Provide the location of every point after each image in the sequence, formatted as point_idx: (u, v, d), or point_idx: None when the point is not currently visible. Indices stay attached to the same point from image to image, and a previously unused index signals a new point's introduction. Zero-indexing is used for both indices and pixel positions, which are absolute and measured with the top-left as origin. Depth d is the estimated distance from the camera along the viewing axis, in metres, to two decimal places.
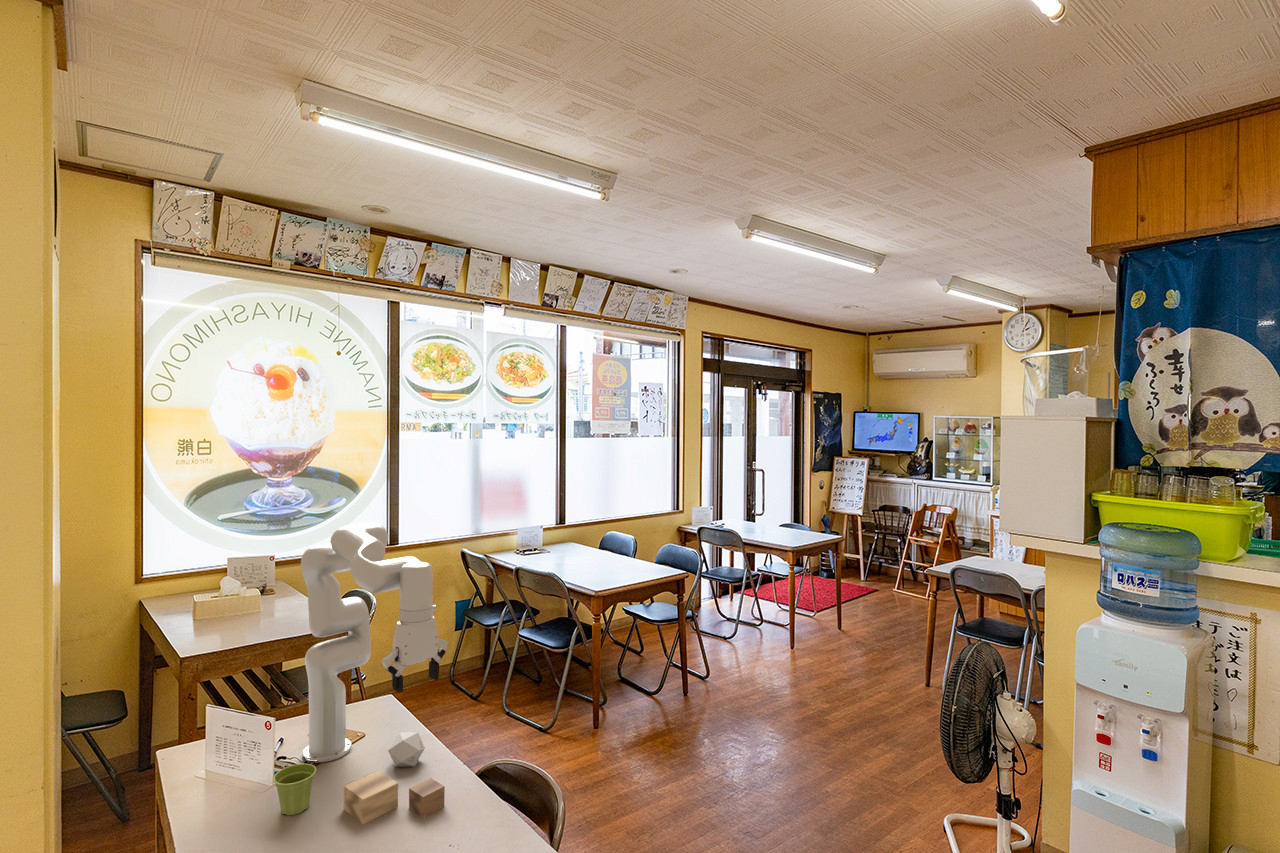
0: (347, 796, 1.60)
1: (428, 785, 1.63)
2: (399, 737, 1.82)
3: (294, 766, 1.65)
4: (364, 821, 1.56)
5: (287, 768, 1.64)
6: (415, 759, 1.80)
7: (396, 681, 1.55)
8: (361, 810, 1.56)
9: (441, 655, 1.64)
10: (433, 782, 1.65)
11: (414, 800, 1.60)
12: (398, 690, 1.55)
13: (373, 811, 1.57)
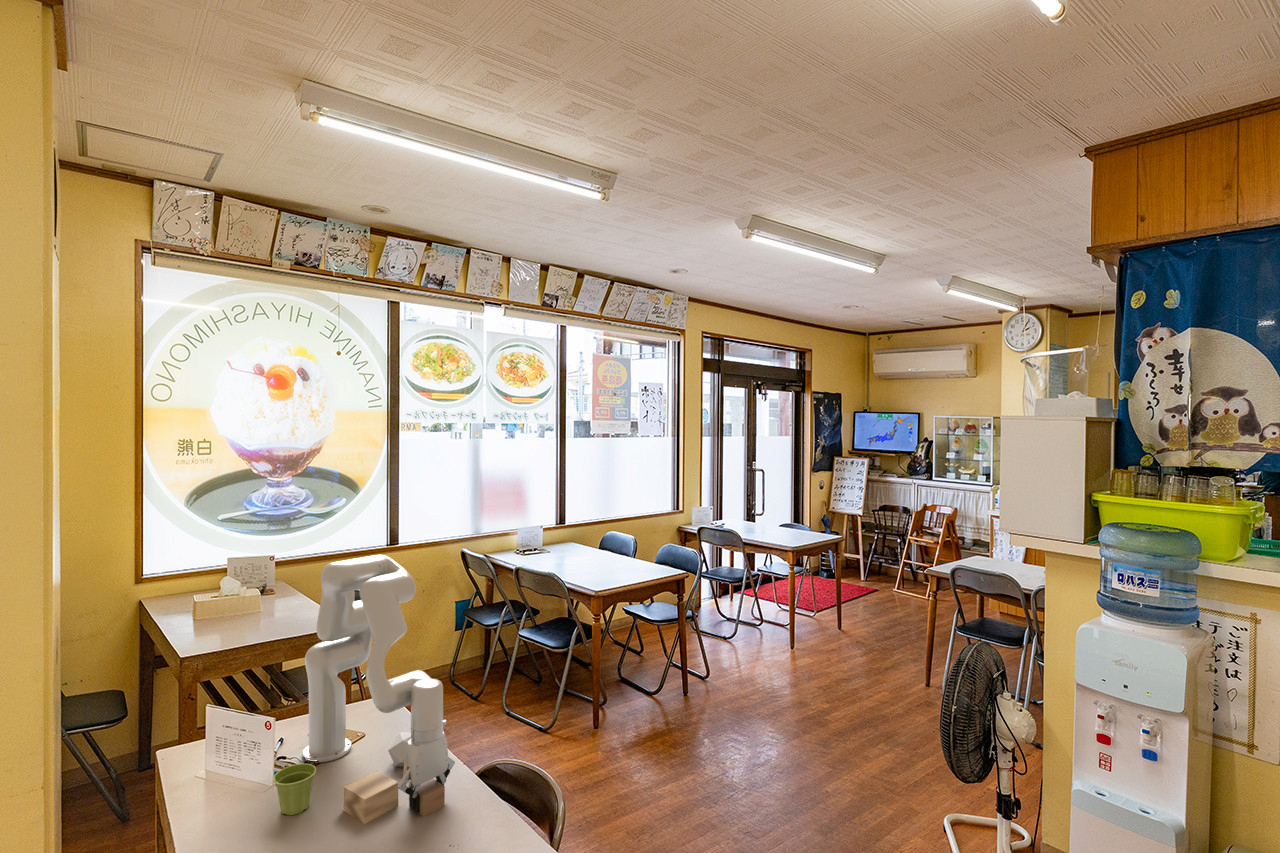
0: (347, 797, 1.60)
1: (428, 785, 1.63)
2: (399, 737, 1.82)
3: (294, 766, 1.65)
4: (366, 821, 1.56)
5: (287, 768, 1.64)
6: None
7: (413, 802, 1.59)
8: (363, 810, 1.56)
9: (446, 775, 1.66)
10: (433, 781, 1.65)
11: None
12: (415, 810, 1.59)
13: (374, 810, 1.58)
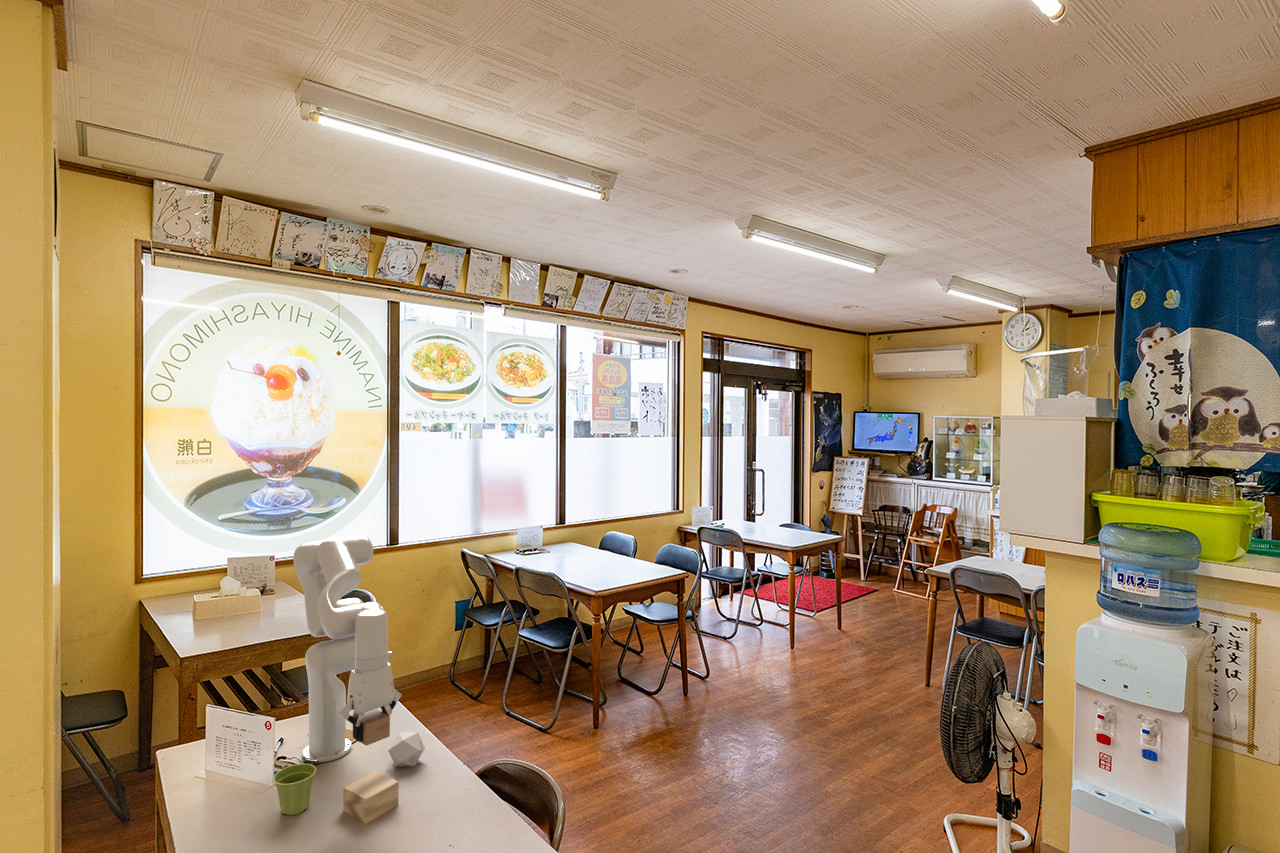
0: (347, 797, 1.60)
1: (373, 715, 1.62)
2: (399, 737, 1.82)
3: (294, 766, 1.65)
4: (367, 821, 1.56)
5: (287, 768, 1.64)
6: (415, 759, 1.80)
7: (356, 731, 1.58)
8: (364, 810, 1.56)
9: (392, 706, 1.65)
10: (379, 713, 1.63)
11: None
12: (358, 739, 1.58)
13: (375, 810, 1.58)
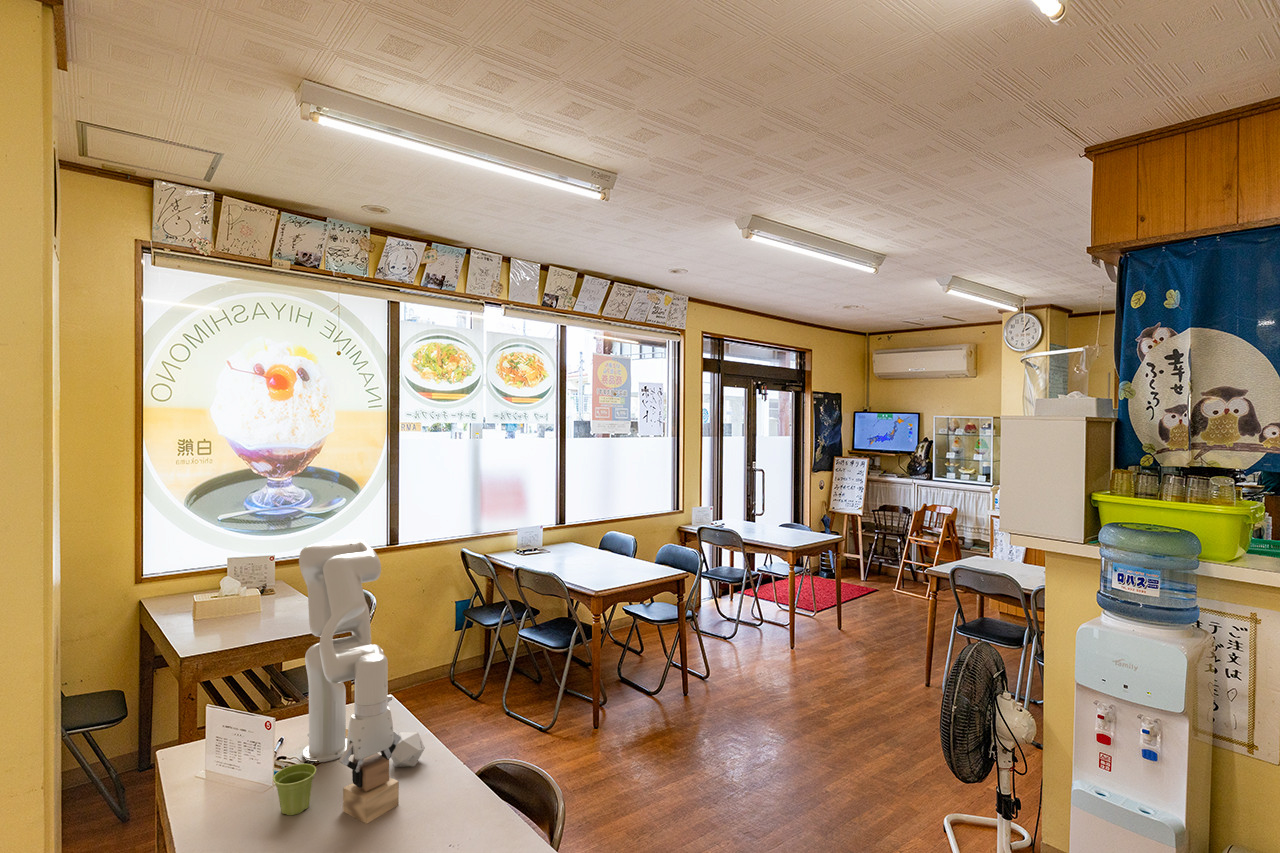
0: (347, 797, 1.59)
1: (373, 760, 1.62)
2: None
3: (294, 766, 1.65)
4: (367, 821, 1.56)
5: (287, 768, 1.64)
6: (415, 759, 1.80)
7: (356, 776, 1.58)
8: (365, 810, 1.56)
9: (391, 750, 1.65)
10: (378, 757, 1.64)
11: None
12: (358, 785, 1.58)
13: (376, 810, 1.58)
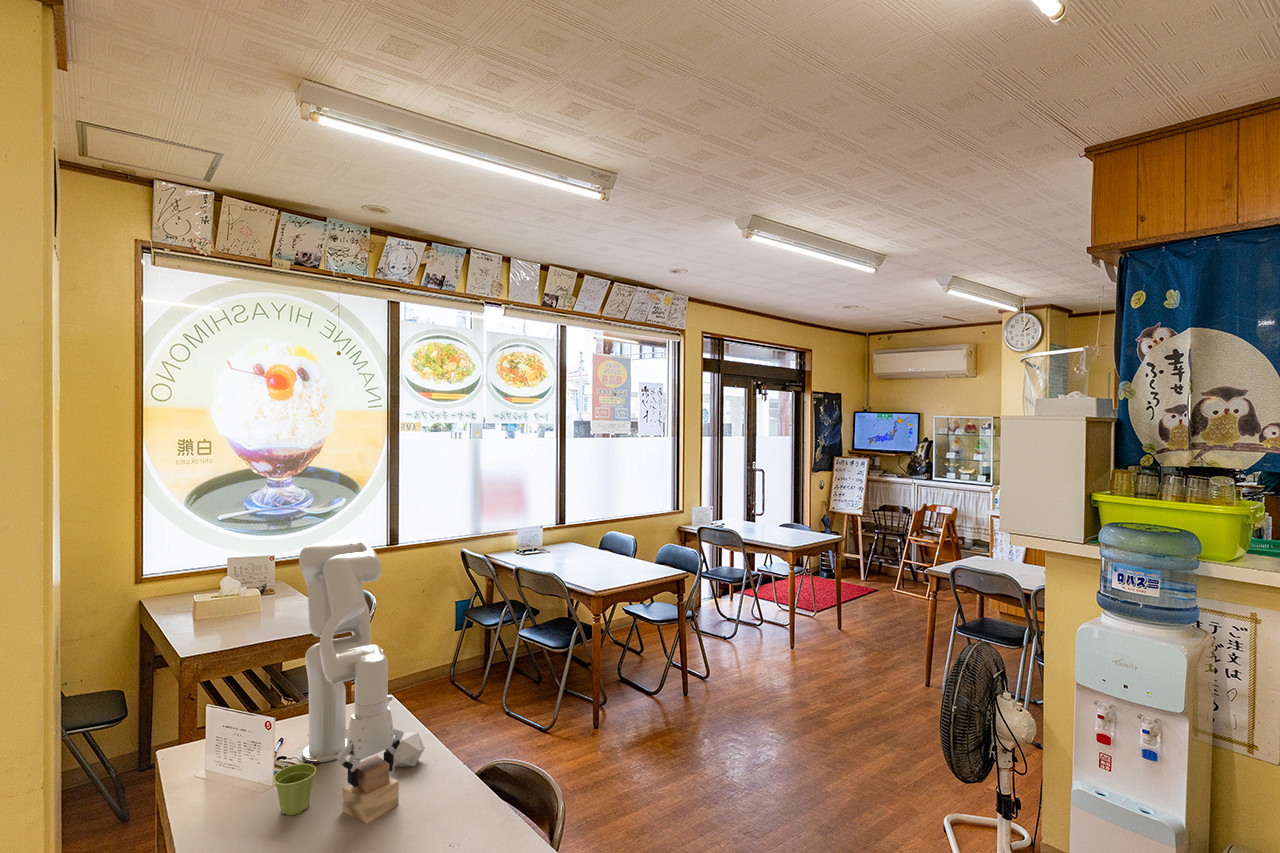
0: (347, 798, 1.59)
1: (373, 762, 1.62)
2: None
3: (294, 766, 1.65)
4: (368, 821, 1.56)
5: (287, 768, 1.64)
6: (415, 759, 1.80)
7: (351, 776, 1.57)
8: (365, 810, 1.56)
9: (396, 746, 1.66)
10: (378, 759, 1.64)
11: (358, 777, 1.60)
12: (353, 784, 1.57)
13: (376, 810, 1.58)
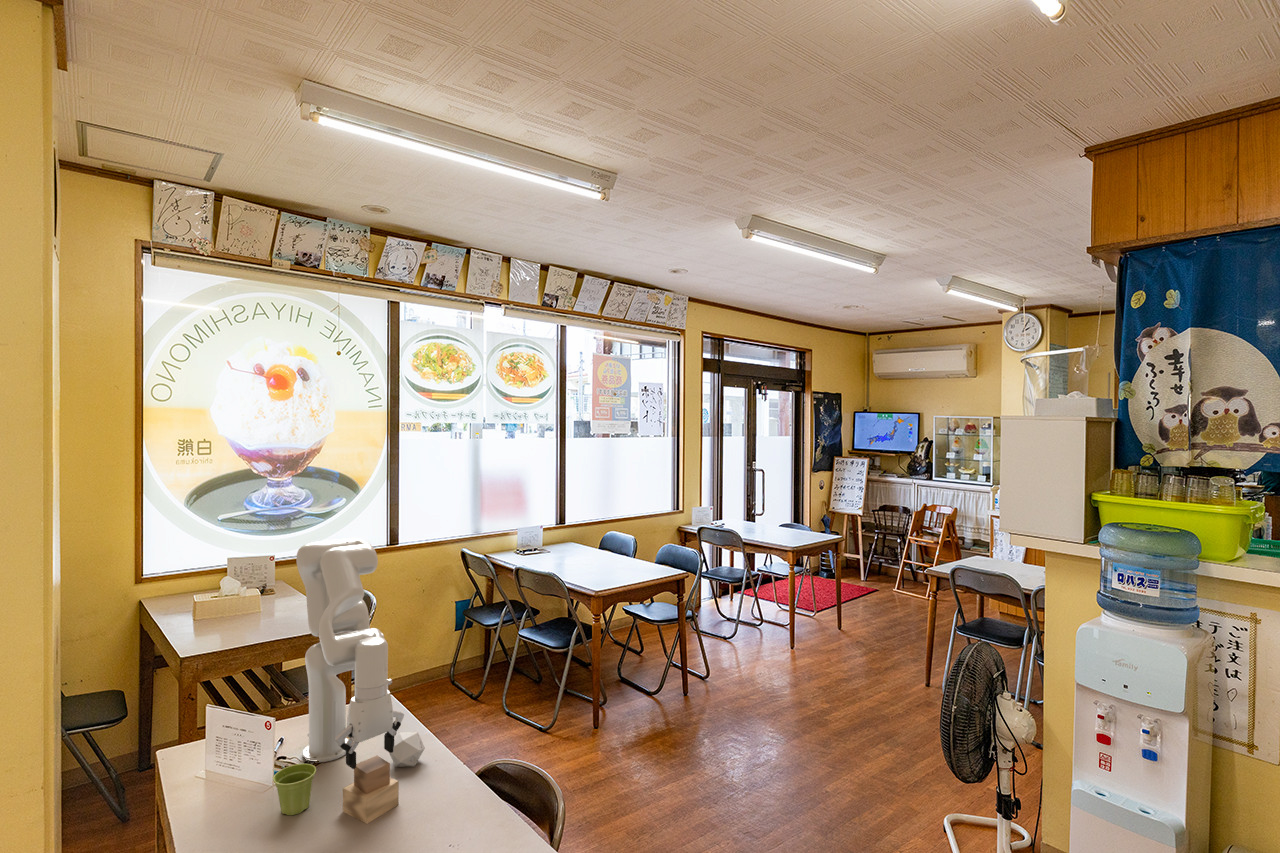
0: (347, 798, 1.59)
1: (373, 762, 1.62)
2: (399, 737, 1.82)
3: (294, 766, 1.65)
4: (368, 821, 1.56)
5: (287, 768, 1.64)
6: (415, 759, 1.80)
7: (349, 758, 1.57)
8: (365, 810, 1.56)
9: (396, 728, 1.66)
10: (379, 759, 1.64)
11: (359, 777, 1.60)
12: (351, 766, 1.58)
13: (376, 810, 1.58)
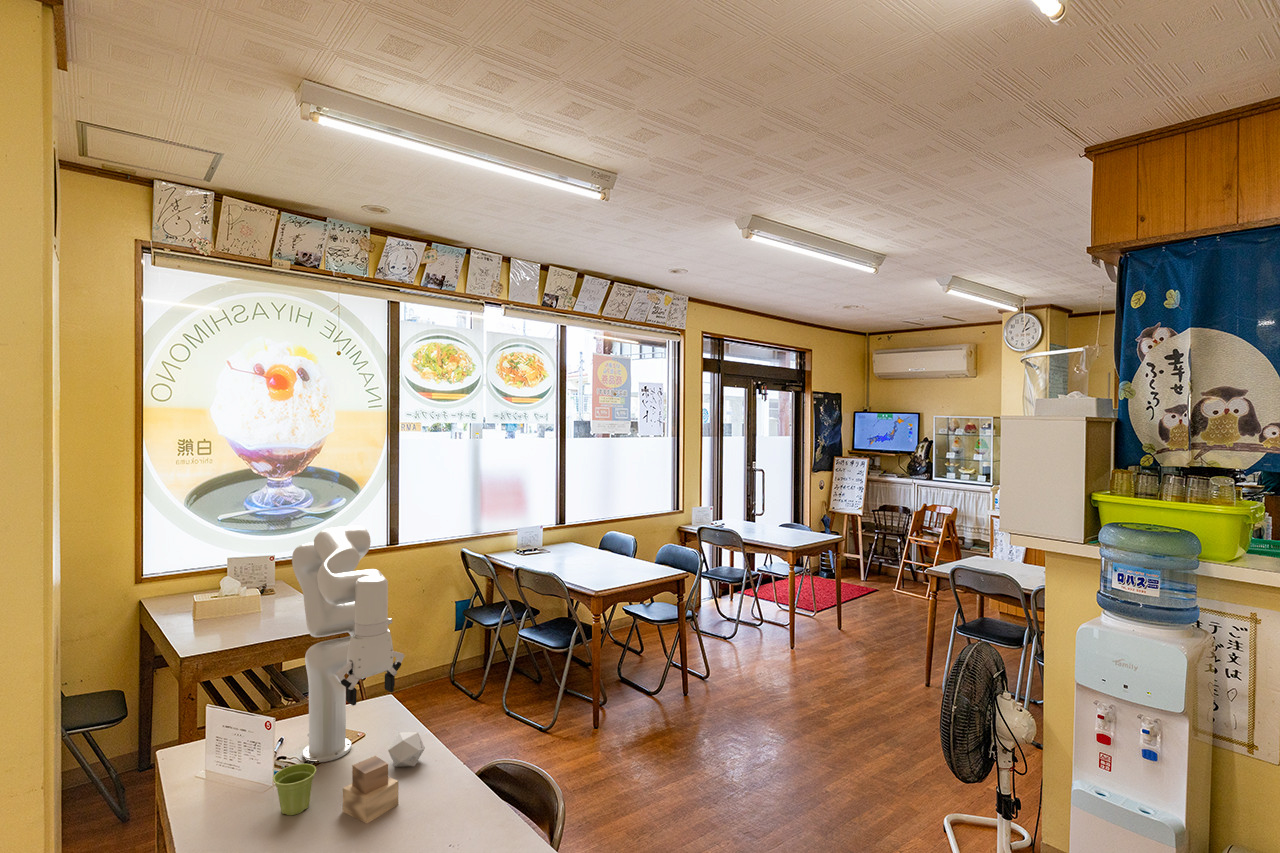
0: (347, 798, 1.59)
1: (372, 763, 1.62)
2: (399, 737, 1.82)
3: (294, 766, 1.65)
4: (368, 821, 1.56)
5: (287, 768, 1.64)
6: (415, 759, 1.80)
7: (349, 694, 1.57)
8: (365, 810, 1.56)
9: (397, 667, 1.66)
10: (377, 760, 1.64)
11: (357, 777, 1.60)
12: (352, 703, 1.57)
13: (376, 810, 1.58)
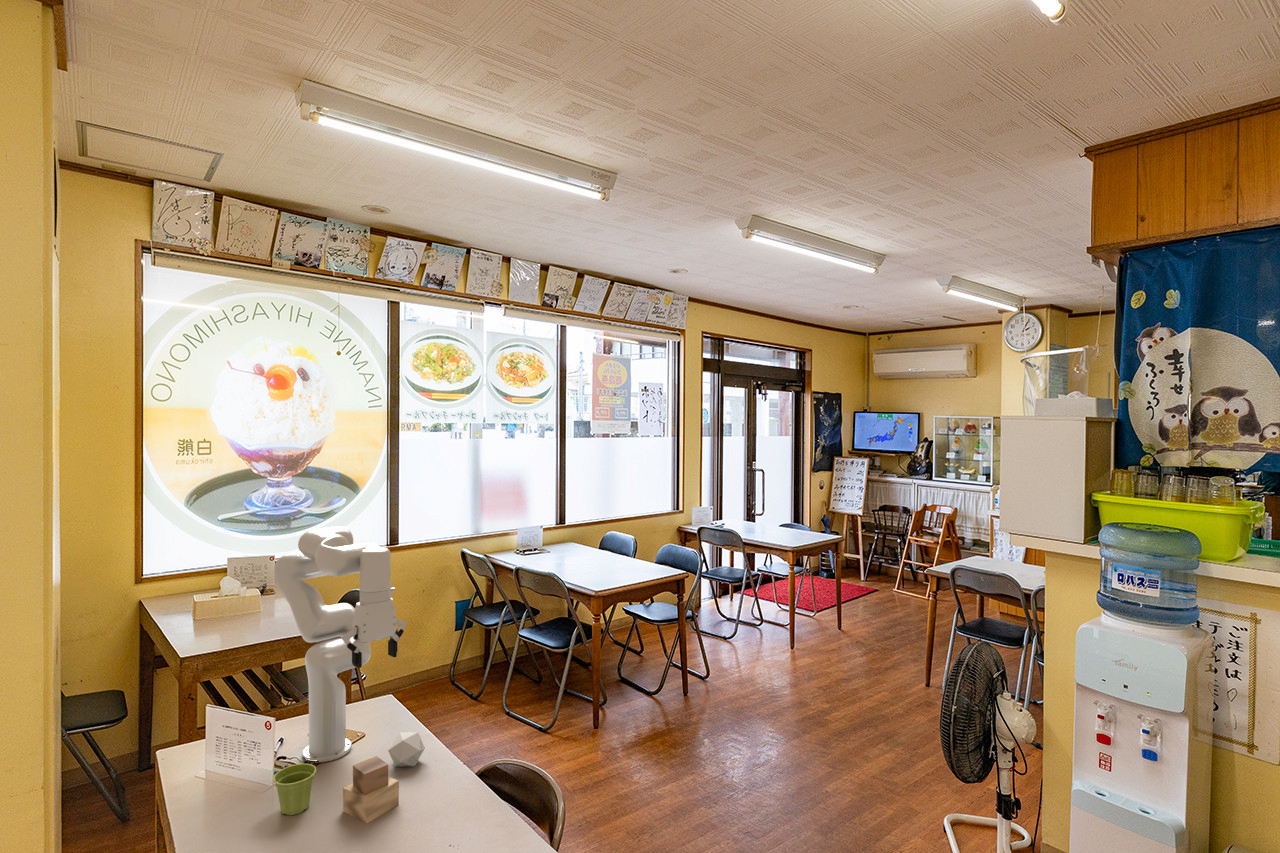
0: (347, 797, 1.59)
1: (372, 763, 1.62)
2: (399, 737, 1.82)
3: (294, 766, 1.65)
4: (368, 820, 1.56)
5: (287, 768, 1.64)
6: (415, 759, 1.80)
7: (355, 657, 1.67)
8: (365, 810, 1.56)
9: (399, 634, 1.76)
10: (378, 760, 1.63)
11: (357, 778, 1.59)
12: (357, 666, 1.67)
13: (376, 809, 1.58)
